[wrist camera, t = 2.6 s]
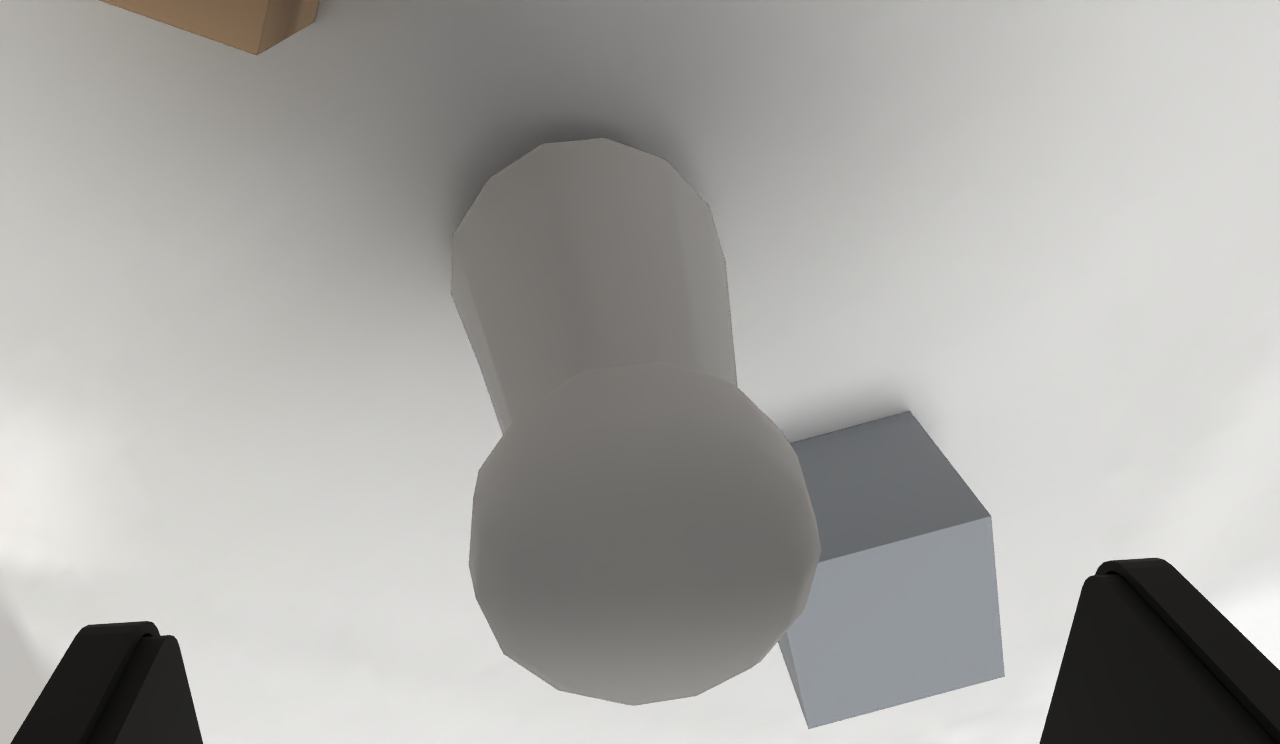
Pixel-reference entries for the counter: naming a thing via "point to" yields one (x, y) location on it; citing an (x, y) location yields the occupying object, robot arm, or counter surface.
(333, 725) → the counter surface
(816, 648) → the slate-grey block
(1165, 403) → the counter surface
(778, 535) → the salt shaker
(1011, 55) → the counter surface
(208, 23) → the walnut block
